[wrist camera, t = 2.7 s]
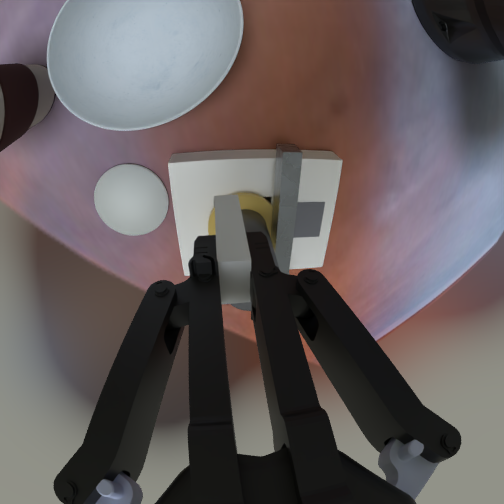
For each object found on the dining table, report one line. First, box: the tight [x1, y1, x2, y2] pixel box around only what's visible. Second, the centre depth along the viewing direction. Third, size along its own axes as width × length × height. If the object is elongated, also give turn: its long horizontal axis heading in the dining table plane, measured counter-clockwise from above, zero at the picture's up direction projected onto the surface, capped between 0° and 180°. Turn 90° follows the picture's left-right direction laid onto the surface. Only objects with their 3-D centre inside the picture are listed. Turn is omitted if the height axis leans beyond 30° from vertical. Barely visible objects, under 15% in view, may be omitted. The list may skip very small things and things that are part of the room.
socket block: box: [168, 149, 343, 276], centre depth 30 cm, size 17×14×4 cm
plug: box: [208, 193, 280, 311], centre depth 26 cm, size 7×7×13 cm
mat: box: [94, 164, 169, 235], centre depth 29 cm, size 9×9×1 cm
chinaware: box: [47, 0, 243, 131], centre depth 16 cm, size 15×15×8 cm
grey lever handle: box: [271, 144, 303, 275], centre depth 27 cm, size 17×3×2 cm, turn 179°
